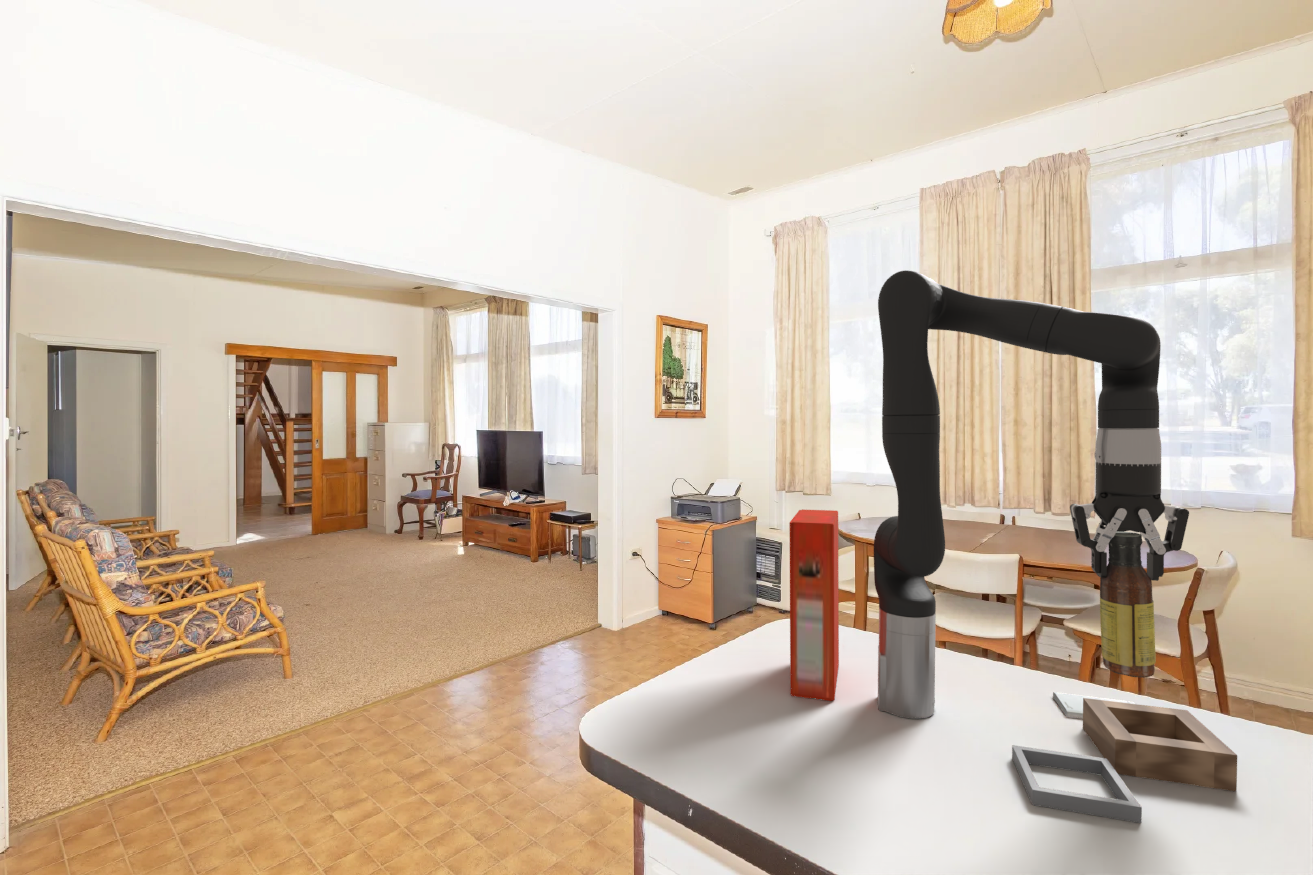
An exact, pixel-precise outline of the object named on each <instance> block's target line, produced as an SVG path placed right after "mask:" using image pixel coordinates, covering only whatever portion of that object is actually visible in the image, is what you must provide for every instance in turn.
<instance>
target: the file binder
mask: <svg viewBox="0 0 1313 875" xmlns="http://www.w3.org/2000/svg"><path fill="white" fill-rule="evenodd" d="M788 524H789V633H790V634H789V640H790V641H789V644H790V645H789V651H790V652H789V653H790V654H789V657H790V658H789V660H790V663H789V665H790V667H789V671H790V672H789V673H790V675H789V676H790V684H789V685H790V686H789V687H790V690H789V691H790V695H791V697H795V696H796V698H803V697H804V698H805V699H811V698H816V699H815V700H819V699H822V700H821V701H827V702H828V701H829V702H832V701H835V698H836V691H837V682H838V674H839V668H840V667H839V666H840V650H839V648H840V647H839V645H840V644H839V643H840V642H839V641H840V635H839V634H840V633H839V632H840V631H839V629H840V628H839V626H840V625H839V624H840V623H839V622H840V621H839V613H840V610H839V608H840V607H839V602H840V600H839V598H840V597H839V594H840V593H839V589H840V588H839V586H840V585H839V511H838V510H834V509H832V510H831V509H829V510H826V509H799V510H798V511H797V512H796V513H795V515H794V516H793V517H792V518H791V520H790V521H789V523H788Z"/></svg>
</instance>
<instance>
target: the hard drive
mask: <svg viewBox="0 0 1313 875" xmlns="http://www.w3.org/2000/svg"><path fill="white" fill-rule="evenodd" d="M1052 697H1053V699H1054V701H1055V703H1056V704H1057V705H1058V706H1059V708H1060V709H1061V711H1062V713H1064V715H1065V716H1066V718H1074V719H1082V720H1083V698H1088V699H1097V700H1105V701H1113V702H1122V703H1130V704H1137V703H1136V702H1135V701H1129V700H1123V699H1122V700H1121V699H1114V698H1113V699H1112V698H1105V697H1096V696H1091V695H1090V696H1088V695H1081V694H1074V693H1073V694H1072V693H1065V692H1057V691H1056V692H1055V691H1052Z"/></svg>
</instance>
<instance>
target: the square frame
mask: <svg viewBox="0 0 1313 875" xmlns="http://www.w3.org/2000/svg"><path fill="white" fill-rule="evenodd" d="M1011 758H1012V761H1013V764H1014V766H1015V768H1016V770H1017V773H1018V776H1019V777H1020V779H1021V782H1022V784H1023V787H1024V788H1025V791H1026V794H1027V797H1028V798H1029V801H1030V802H1031V805H1032V806H1038V807H1044V808H1050V809H1054V810H1055V809H1056V810H1062V811H1065V812H1066V811H1068V812H1073V813H1078V814H1079V813H1080V814H1084V815H1085V814H1086V815H1091V816H1097V817H1103V818H1109V819H1115V820H1119V821H1120V820H1121V821H1126V822H1127V821H1128V822H1131V823H1139V824H1142V819H1143V818H1142V812H1143V807H1142V806H1141V804H1140V803H1139V801H1138V800H1137V799H1136V797H1135V796H1134V794H1133V793H1132V792H1131V790H1130V789H1129V787H1128V786H1127V785H1126V783H1125V781H1124V780H1123V779H1122V778H1121V776H1120V774H1118V773H1117V772H1116V771H1115V769H1114V768H1113V766H1112V765H1111V764H1110V762H1109V761H1108V759H1107V758H1103V757H1099V756H1091V755H1085V754H1078V753H1072V752H1071V753H1070V752H1064V751H1059V750H1058V751H1056V750H1049V749H1043V748H1037V747H1029V746H1022V745H1015V744H1013V745H1011ZM1030 765H1034V766H1040V767H1048V768H1054V769H1059V770H1067V771H1074V772H1080V773H1084V774H1085V773H1086V774H1091V775H1098V776H1099V775H1100V776H1101V777H1102V779H1103V780H1104V782H1105V783H1106V784H1107V786H1108V788H1109V790H1110V791H1111V793H1112V794H1113V796H1114V797H1115V798H1110V797H1105V796H1098V795H1093V794H1087V793H1079V792H1074V791H1073V792H1072V791H1068V790H1067V791H1066V790H1061V789H1055V788H1049V787H1042V786H1039V784H1038V781H1037V779H1036V778H1035V775H1034V773H1033V771H1032V769H1031V766H1030Z"/></svg>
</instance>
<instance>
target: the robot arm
mask: <svg viewBox="0 0 1313 875" xmlns="http://www.w3.org/2000/svg"><path fill="white" fill-rule="evenodd" d="M877 308H878V319H879V326H880V335H881V336H880V337H881V345H882V346H881V347H882V407H881V408H882V409H881V438H882V445H883V451H884V455H885V457H886V460H887V464H888V466H889V469H890V471H891V474H892V478H893V481H894V483H895V488H896V494H897V515H894V516H890V517H888V518H886V519H885V520H883V521H882V522H880V524H879V526H878V527H877V530H876V532H875V534H874V539H873V572H874V574H873V575H874V586H875V591H876V592H875V593H877V597H878V646H877V707H878V711H883V712H886V713H889V714H890V715H894V716H897V717H900V718H906V719H915V720H916V719H926V718H929V717H931V716H934V713H935V704H936V698H935V696H936V692H935V691H936V688H935V687H936V624H937V623H936V622H937V621H936V609H937V608H936V607H937V606H936V602H937V601H936V598H935V596H934V594H933V592H932V591H931V589H930V588H929V586H928V584H927V582H926V579H925V577H929V576H931V575H932V574H934V573H935V572H937V570H938V569H939V568H940V567H941V565H942V563H943V561H944V557H945V554H946V537H945V536H946V535H945V529H944V528H945V527H944V526H945V525H944V518H943V512H942V511H943V510H942V502H941V500H942V499H941V488H940V487H941V486H940V484H941V483H940V482H941V480H940V479H941V461H940V441H941V415H940V414H941V408H940V399H939V395H938V390H937V387H936V382H935V379H934V375H933V371H932V368H931V365H930V364H931V363H930V359H929V352H928V351H929V350H928V349H929V348H928V340H929V337H928V336H929V330H935V331H936V330H937V331H938V330H939V331H949V332H950V331H951V332H957V333H964V334H965V333H966V334H970V335H973V336H974V335H975V336H978V337H981V338H987V339H990V340H994V341H997V342H1000V343H1004V344H1009V345H1010V346H1015V347H1019V348H1023V349H1028V350H1033V351H1037V352H1041V353H1047V354H1051V355H1052V354H1053V355H1058V356H1059V355H1060V356H1071V357H1076V358H1079V359H1081V360H1082V359H1083V360H1086V361H1090V362H1095V363H1099V364H1101V390H1100V393H1099V396H1098V401H1097V402H1098V403H1097V434H1096V439H1095V451H1094V459H1095V465H1094V466H1095V473H1094V474H1095V478H1094V479H1095V482H1094V483H1095V485H1094V488H1095V489H1094V490H1095V491H1094V492H1095V496H1094V498H1093V500H1092V502H1091V503H1084V504H1082V503H1081V504H1078V503H1071V504H1070V505H1069V512H1070V516H1071V521H1072V525H1073V530H1074V536H1075V541H1076V542H1077V543H1078V544H1080V545H1082V546H1083V547H1085V548H1086V547H1087V548H1089V549H1090V550H1091V553H1090V554H1091V558H1090V559H1091V561H1090V563H1091V565H1090V566H1091V567H1090V568H1091V569H1092V571H1093V572H1094V573H1095V574H1096V576H1098V577H1099V578H1100V577H1103V578H1106V577H1107V565H1108V564H1107V563H1108V553H1107V552H1106V549H1107V547H1108V546H1109V544H1108V543H1109V542H1110V540H1111V539H1112V538H1113V537H1114V535H1115V533H1116V531H1117V532H1133V533H1139V534H1141V535H1142V539H1143V540H1144V541H1145V544H1146V545H1147V548H1148V549H1149V551H1146V573H1147V574H1148V576H1149V577H1150V579H1151V581H1157V582H1158V581H1159V580H1160V578H1161V577H1163V576H1164V574H1165V569H1164V568H1165V565H1164V564H1165V555H1166V554H1167V553H1169V552H1172V551H1175V552H1177V551H1181V549H1182V546H1183V543H1184V538H1185V534H1186V529H1187V525H1188V521H1189V516H1190V511H1189V510H1188V509H1186V508H1184V507H1182V506H1177V505H1175V506H1171V505H1165V503H1164V502H1163V500H1162V497H1161V495H1162V440H1161V435H1160V434H1161V433H1160V402H1159V394H1158V392H1159V391H1158V383H1159V375H1160V374H1159V373H1160V363H1161V362H1160V361H1161V338H1160V336H1159V333H1158V331H1157V330H1156V328H1155V327H1154V326H1153V325H1152V324H1151V323H1150V322H1148V321H1146V320H1144V319H1141V318H1139V317H1135V316H1128V315H1122V314H1114V313H1104V312H1095V311H1094V312H1093V311H1082V310H1078V309H1076V308H1075V309H1074V308H1070V307H1065V306H1061V305H1056V304H1050V303H1044V302H1038V301H1032V300H1022V299H1011V298H996V297H986V296H980V295H974V294H970V293H966V292H963V291H960V290H957V289H953V288H951V287H948V286H945V285H943V284H940V283H938V282H936V281H935V280H934V279H933V278H930V277H929V276H927V275H925V274H922V273H921V272H917V271H914V270H901V271H897V272H895V273H894V274H891V275H890V276H889V277H888V278H887V279H886V281H885V282H884V283H883V285H882V287H881V288H880V290H879V295H878V298H877ZM1092 512H1094V513H1095V514H1096V516H1097V517H1098V518H1099V519H1100V521H1099V523H1098V526H1097V528H1096V529H1095V533H1094V536H1093V538H1091V535H1090V531H1089V527H1088V525H1089V524H1088V521H1087V520H1088V519H1090V518H1091V514H1092ZM1163 514H1164V518H1165V520H1166V521H1168V522H1167V526H1166V531H1165V533H1164V534H1165V535H1164V539H1163V541H1162V540H1161V535H1160V533H1159V531H1158V529H1157V527H1156V526H1155V522H1156V521H1157V520H1158V519H1159V518H1160V517H1161V516H1162V515H1163Z"/></svg>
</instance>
